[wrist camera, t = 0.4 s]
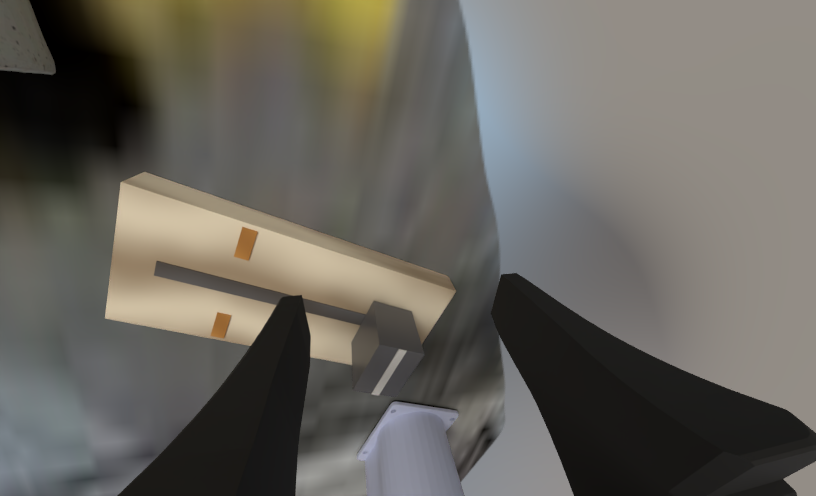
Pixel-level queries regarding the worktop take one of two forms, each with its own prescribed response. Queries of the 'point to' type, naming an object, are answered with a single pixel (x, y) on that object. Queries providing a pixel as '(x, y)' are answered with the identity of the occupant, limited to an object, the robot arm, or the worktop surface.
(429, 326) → the fader console
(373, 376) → the fader knob
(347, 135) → the worktop surface
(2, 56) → the ceramic mug
